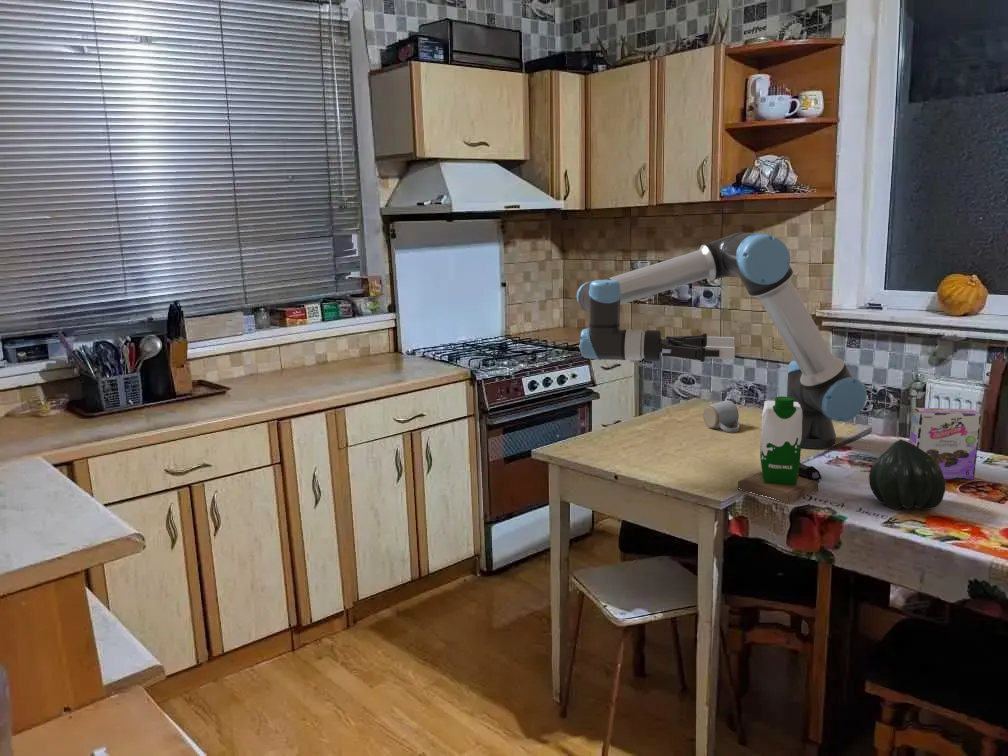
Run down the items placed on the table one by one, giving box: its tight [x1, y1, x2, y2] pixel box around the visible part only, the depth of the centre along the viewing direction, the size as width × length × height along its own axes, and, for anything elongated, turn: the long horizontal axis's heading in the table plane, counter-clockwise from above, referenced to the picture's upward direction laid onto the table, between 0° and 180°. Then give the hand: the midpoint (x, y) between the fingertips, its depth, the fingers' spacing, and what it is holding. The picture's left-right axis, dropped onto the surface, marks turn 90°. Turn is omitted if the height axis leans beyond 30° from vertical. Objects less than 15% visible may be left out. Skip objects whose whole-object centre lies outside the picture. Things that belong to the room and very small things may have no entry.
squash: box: [868, 438, 946, 510], centre depth 183 cm, size 14×15×15 cm
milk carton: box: [759, 396, 803, 485], centre depth 192 cm, size 9×9×20 cm
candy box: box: [908, 407, 982, 480], centre depth 200 cm, size 14×6×16 cm, turn 82°
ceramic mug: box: [702, 399, 740, 434], centre depth 244 cm, size 11×8×8 cm
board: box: [737, 471, 820, 505], centre depth 194 cm, size 13×13×2 cm
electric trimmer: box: [798, 462, 822, 481], centre depth 207 cm, size 4×16×3 cm, turn 23°
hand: (734, 347), depth 197 cm, fingers open, 13 cm apart
